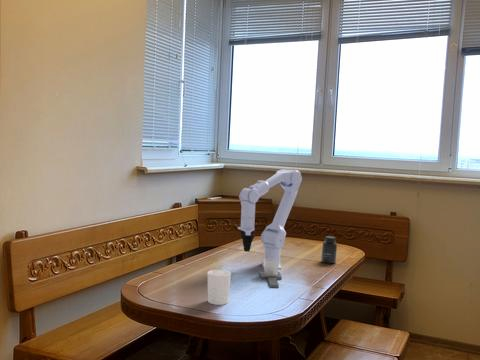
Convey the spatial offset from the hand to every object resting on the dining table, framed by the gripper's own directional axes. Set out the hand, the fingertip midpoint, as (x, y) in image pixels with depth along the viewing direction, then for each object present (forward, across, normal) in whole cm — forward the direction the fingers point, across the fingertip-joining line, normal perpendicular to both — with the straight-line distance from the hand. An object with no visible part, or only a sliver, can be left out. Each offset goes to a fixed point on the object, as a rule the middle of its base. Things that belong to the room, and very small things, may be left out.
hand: (246, 249), depth 206 cm
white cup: (+10, +41, -11) cm, 44 cm away
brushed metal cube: (+8, +7, +10) cm, 15 cm away
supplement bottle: (+10, -22, +40) cm, 47 cm away
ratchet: (+9, +13, +10) cm, 19 cm away
